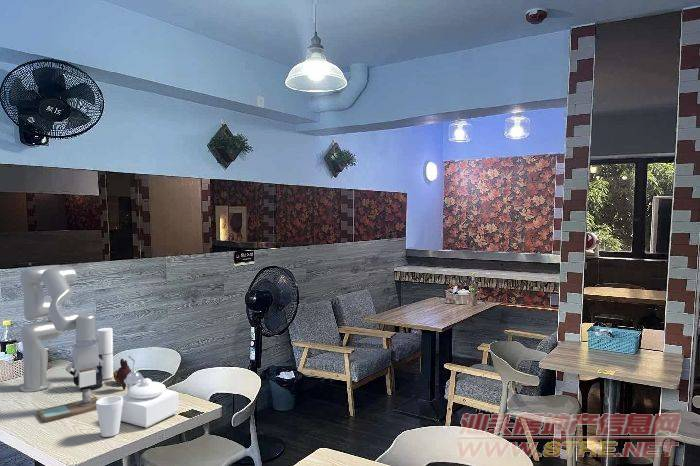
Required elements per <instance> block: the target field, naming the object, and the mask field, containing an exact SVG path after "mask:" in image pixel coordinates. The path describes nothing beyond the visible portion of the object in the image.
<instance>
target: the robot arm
mask: <svg viewBox="0 0 700 466" xmlns="http://www.w3.org/2000/svg"><path fill="white" fill-rule="evenodd" d="M77 280H78V274H77V271H76V270H75V268H73V267H72V266H69V265H62V264H61V265H60V264H51V265H50V264H49V265H39V266H30V267H26V268H24V269H23V270H22V271H21V272H20V274H19V282H20V283H19V284H20V286H21V288H22V293H23V316H24V318H25V320H27V321H36V322H31V323H29V324H28V323H27V324H25V325H24V326H22V327H21V328H20V331H19V335H20V341H21V346H22V361H23V362H22V366H23V368H22V369H23V373H22V374H23V384H22V385H21V386H20V387H19V391H21V392H24V393H32V392H33V393H34V392H39V391H40V392H41V391H43V390H45V389H48V388H49V387H50V386H51V384H52V383H51V381H48V369H47V368H48V364H47V363H48V361H47V357H48V355H47V349H46V347H45V346H44V345H43V344H42V342H46V341H50V340H55V339H58V338H60V336H61V335H62V333H63V332H68V331H71V330H75V346H73V348H72V354H71V361H70V363H69V365H67V366H66V368H64V369H65V371H66V372H67V373H69V374H70V375H72V376H73V384H74V385H75V386H77V387H79V386H78V385H79V377H78V373H79V371H80V370H83V369H89V368H93V369H94V370H96V379H97V373H98V371H99V370H100V369H101V367H102V366H103V365H104V364H105V362H104V361H103V360H101V359H100V358H99V354H98V348H97V341H99V338H97V337H96V316H95V315H94V314H93V313H88V312H87V311H85V310H79V311H73V312H67V313H63V308H62V304H65V303H66V302H68V301H70V299H71V298H72V296H73V294H74V293H73V289H72V288H71V287H70V285H73V284H75V283H76V282H77ZM42 284H43V285H44V286H45V288H43V286H42ZM44 289H46V290H47V292H48V294H49V296H50V298H45V297H46V296H45V290H44ZM45 319H46V320H45ZM47 319H48V320H47ZM39 320H43V321H39ZM37 321H38V322H37ZM99 362H100V364H99ZM71 369H74V370H71Z"/></svg>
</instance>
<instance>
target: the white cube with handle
mask: <svg viewBox="0 0 700 466" xmlns="http://www.w3.org/2000/svg"><path fill="white" fill-rule="evenodd" d="M78 377H79V385H78V386H77V387H79V389H80V388H81V387H85V386H90V385H94V384H96V370H94V369H93V368H89V369H83V370H80V371H79V373H78Z"/></svg>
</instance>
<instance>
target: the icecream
mask: <svg viewBox="0 0 700 466" xmlns="http://www.w3.org/2000/svg"><path fill="white" fill-rule="evenodd" d="M119 363H120V367H119V368H118V369H117V370H118V371H117V370H116V371H117V376H116V378H117V379H119V380H120V383H121V387H122V390H123V391H125V390H126V389H127V387H126V383H124V379H126V377H127V375H128V374H129V373H130V372H132V370H131V368H130V366H129V365H128V361H127V360H125V359H124V358H121V359H120V362H119Z"/></svg>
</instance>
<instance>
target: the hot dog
mask: <svg viewBox="0 0 700 466" xmlns="http://www.w3.org/2000/svg"><path fill="white" fill-rule="evenodd" d="M117 371H118V369H117V370H115V371H113V379H114V381H115V382H116V383H117V384H119V385H121V383H120V380H119V379H117V378H116V376H117ZM121 386H122V385H121Z"/></svg>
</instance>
